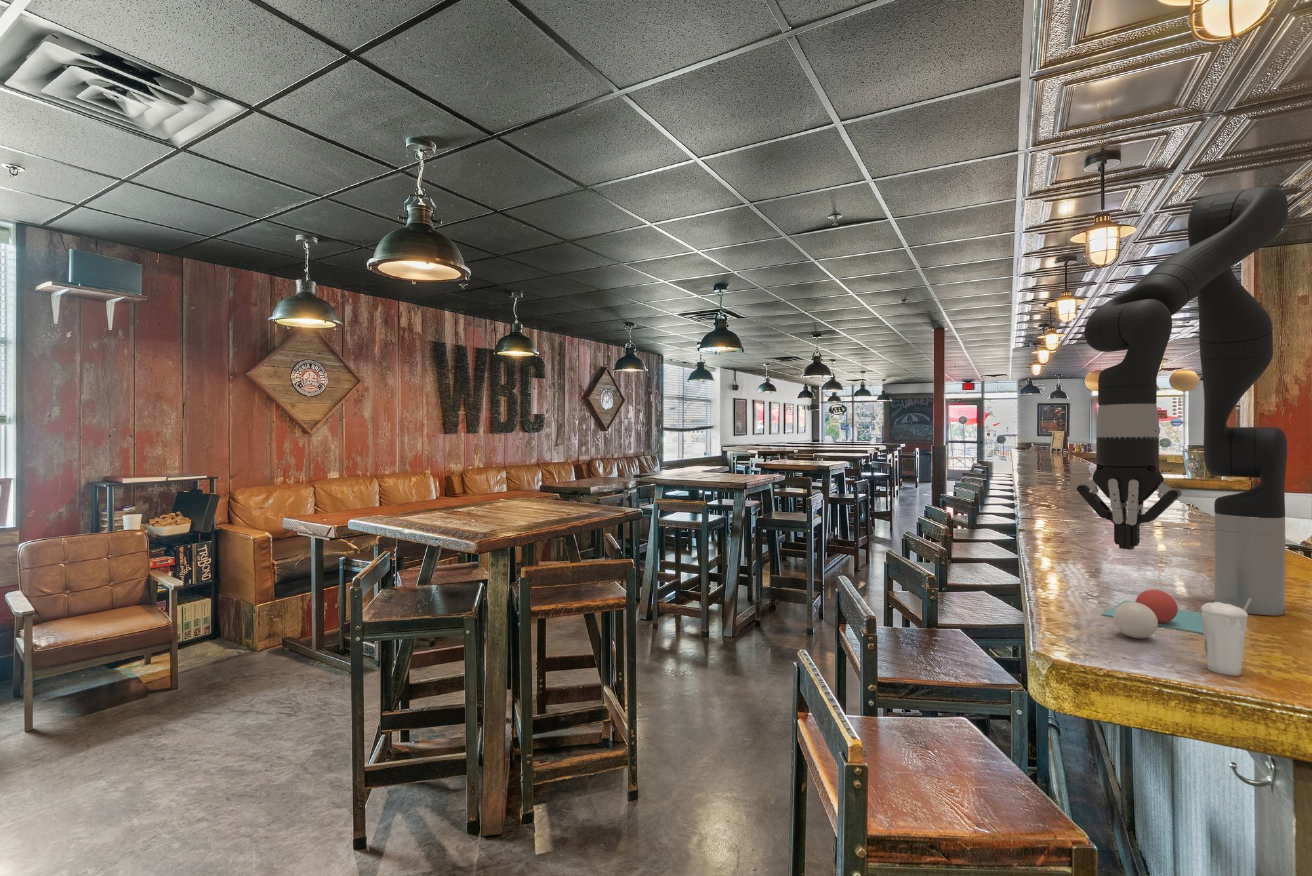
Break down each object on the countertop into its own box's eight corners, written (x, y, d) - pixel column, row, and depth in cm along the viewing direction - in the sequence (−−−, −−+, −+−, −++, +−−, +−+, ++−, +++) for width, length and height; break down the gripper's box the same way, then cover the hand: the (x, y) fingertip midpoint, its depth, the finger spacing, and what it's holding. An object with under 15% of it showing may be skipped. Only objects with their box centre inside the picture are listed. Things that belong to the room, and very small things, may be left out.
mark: (1124, 601, 115) (1124, 600, 115) (1224, 618, 104) (1224, 617, 104) (1102, 615, 106) (1102, 613, 106) (1209, 635, 95) (1209, 633, 95)
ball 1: (1110, 612, 93) (1114, 642, 94) (1156, 616, 90) (1159, 648, 91) (1111, 593, 97) (1115, 622, 98) (1155, 596, 94) (1158, 627, 95)
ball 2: (1132, 607, 101) (1138, 628, 103) (1175, 610, 97) (1180, 631, 99) (1132, 581, 104) (1138, 602, 106) (1174, 583, 100) (1179, 605, 102)
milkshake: (1264, 679, 78) (1264, 602, 78) (1216, 676, 79) (1216, 600, 79) (1238, 666, 82) (1238, 593, 82) (1192, 663, 83) (1192, 591, 83)
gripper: (1067, 435, 94) (1067, 545, 94) (1177, 434, 84) (1178, 558, 84) (1083, 434, 99) (1083, 540, 99) (1189, 434, 88) (1189, 551, 88)
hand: (1127, 548), depth 91 cm, fingers closed
